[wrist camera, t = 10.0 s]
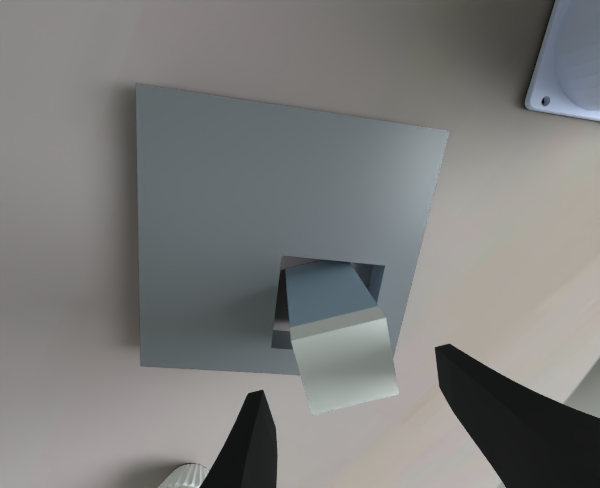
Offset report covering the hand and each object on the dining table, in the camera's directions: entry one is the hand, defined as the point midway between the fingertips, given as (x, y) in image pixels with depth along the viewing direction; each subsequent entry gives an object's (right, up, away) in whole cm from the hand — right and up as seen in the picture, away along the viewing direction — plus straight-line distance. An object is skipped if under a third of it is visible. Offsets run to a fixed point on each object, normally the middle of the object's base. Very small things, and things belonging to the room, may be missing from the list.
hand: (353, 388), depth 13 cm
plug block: (-1, +3, +8) cm, 9 cm away
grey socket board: (-3, +6, +7) cm, 10 cm away
